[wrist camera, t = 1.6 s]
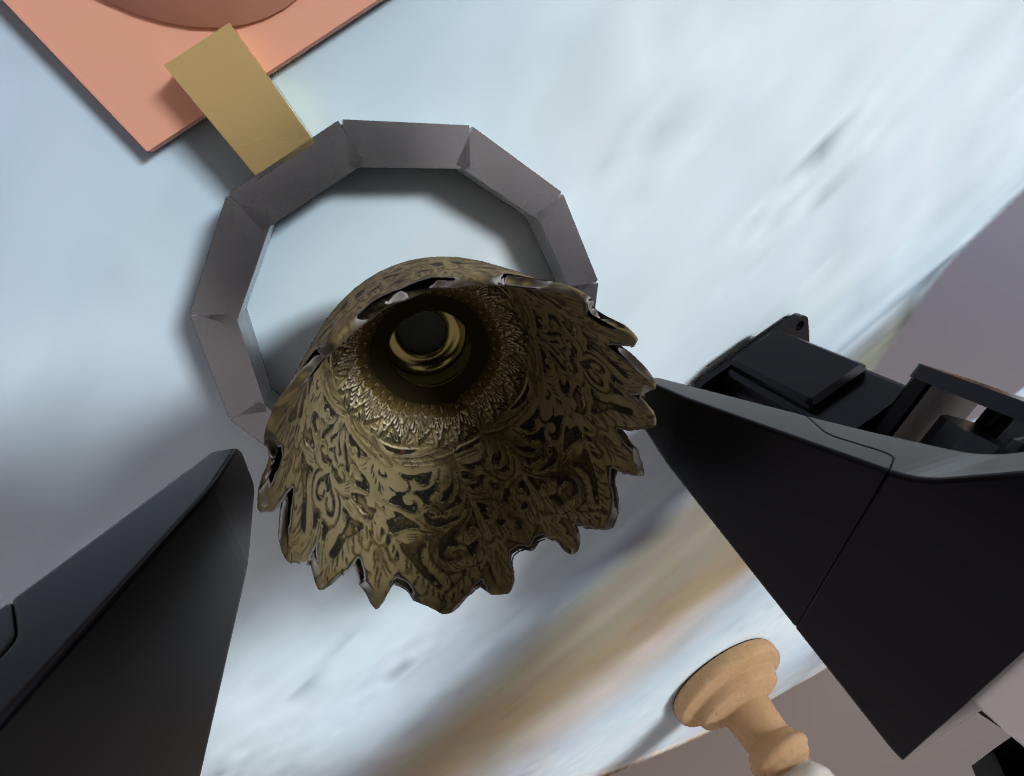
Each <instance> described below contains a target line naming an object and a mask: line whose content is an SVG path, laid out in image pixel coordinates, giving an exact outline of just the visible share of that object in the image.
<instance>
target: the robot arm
mask: <svg viewBox="0 0 1024 776" xmlns="http://www.w3.org/2000/svg"><path fill="white" fill-rule="evenodd" d="M910 377H912V378H911V379H910V381H909V382H908V383H907V385H904V384H901V383H899V382H896V381H894V380H892V379H889V378H887V377H884V376H882V375H879V374H877V373H874V372H872V371H869V370H867V369H866V367H865V365H864V364H862V363H860V362H857V361H855V360H852V359H850V358H847V357H845V356H842V355H840V354H837V353H835V352H832V351H830V350H827V349H825V348H822V347H819V346H817V345H814V344H812V343H809V326H808V318H807V317H806V316H804V315H801V314H798V313H795V314H793V315H791V316H790V317H788V318H787V319H785V320H784V321H782V322H781V323H779V324H778V325H777V326H775V327H774V328H772V329H771V330H769V331H768V332H766V333H765V334H764V335H762V336H761V337H759V338H758V339H756V340H755V341H754V342H752V343H751V344H749V345H748V346H746V347H745V348H743V349H742V350H741V351H739V352H738V353H736V354H735V355H733V356H732V357H730V358H729V359H728V360H726V361H725V362H723V363H722V364H720V365H719V366H718V367H716V368H715V369H713V370H712V371H710V372H709V373H707V374H706V375H705V376H703V377H702V378H700V379H699V380H698V381H697V382H696V383H695V385H694V387H691V386H687V385H683V384H679V383H676V382H672V381H668V380H664V379H660V378H653V379H654V381H655V383H656V388H655V389H653V390H650V391H648V392H646V393H644V395H645V399H644V401H645V402H646V403H647V404H648V405H649V407H650V408H651V409H652V410H653V412H654V414H655V416H656V425H655V426H654V427H652V428H648V429H645V430H646V432H647V433H648V435H649V437H650V438H651V440H652V441H653V443H654V444H655V446H656V448H657V449H658V451H659V452H660V454H661V455H662V457H663V458H664V460H665V461H666V463H667V464H668V465H669V467H670V468H671V469H672V471H673V472H674V473H675V475H676V476H677V477H678V478H679V480H680V481H681V482H682V483H683V485H684V486H685V487H686V488H687V490H688V491H689V492H690V494H691V495H692V496H693V497H694V499H695V500H696V501H697V502H698V504H699V505H700V506H701V507H702V509H703V510H704V511H705V513H706V514H707V515H708V516H709V518H710V519H711V520H712V521H713V523H714V524H715V525H716V527H717V528H718V529H719V530H720V532H721V533H722V534H723V535H724V537H725V538H726V539H727V540H728V542H729V543H730V544H731V546H732V547H733V548H734V549H735V551H736V552H737V553H738V554H739V556H740V557H741V558H742V559H743V561H744V562H745V563H746V565H747V566H748V567H749V568H750V570H751V571H752V572H753V573H754V575H755V576H756V577H757V578H758V580H759V581H760V582H761V584H762V585H763V586H764V587H765V589H766V590H767V591H768V592H769V594H770V595H771V596H772V598H773V599H774V600H775V601H776V603H777V604H778V605H779V606H780V608H781V609H782V610H783V611H784V613H785V614H786V615H787V617H788V618H789V619H790V620H791V622H792V623H793V624H794V625H795V626H796V628H797V630H798V631H799V632H800V634H801V635H802V636H803V637H804V639H805V640H806V641H807V642H808V644H809V645H810V646H811V647H812V649H813V650H814V651H815V653H816V654H817V655H818V656H819V658H820V659H821V660H822V661H823V663H824V664H825V665H826V667H827V668H828V669H829V670H830V672H831V673H832V674H833V675H834V676H835V678H836V679H837V680H838V682H839V683H840V684H841V685H842V687H843V688H844V689H845V691H846V692H847V693H848V694H849V696H850V697H851V698H852V700H853V701H854V702H855V703H856V705H857V706H858V707H859V708H860V710H861V711H862V712H863V714H864V715H865V716H866V717H867V718H868V720H869V721H870V722H871V724H872V725H873V726H874V727H875V729H876V730H877V731H878V733H879V734H880V735H881V736H882V737H883V739H884V740H885V741H886V743H887V744H888V745H889V746H890V747H891V749H892V750H893V751H894V752H895V753H896V754H897V755H898V756H899V757H900V758H901V759H902V760H905V759H906V758H908V757H910V756H911V755H913V754H914V753H916V752H917V751H919V750H920V749H922V748H924V747H925V746H927V745H928V744H930V743H931V742H933V741H934V740H936V739H938V738H939V737H941V736H942V735H944V734H945V733H947V732H948V731H950V730H952V729H953V728H954V727H956V726H958V725H959V724H961V723H962V722H964V721H966V720H967V719H969V718H970V717H972V716H973V715H975V714H976V713H980V714H981V715H983V716H984V717H986V718H987V719H989V720H990V721H992V722H993V723H995V724H996V725H998V726H999V727H1001V728H1002V729H1003V730H1005V731H1006V732H1007V733H1008V734H1009V735H1010V736H1011V738H1009V739H1008V740H1006V741H1005V742H1003V743H1002V744H1001V745H999V746H998V747H996V748H995V749H993V750H992V751H991V752H989V753H988V754H987V755H985V756H984V757H983V758H982V759H980V760H979V761H978V762H976V763H975V764H974V765H972V768H973V770H974V773H975V776H1024V398H1023V397H1020V396H1017V395H1014V394H1011V393H1008V392H1006V391H1003V390H1000V389H997V388H994V387H991V386H988V385H985V384H983V383H980V382H977V381H974V380H971V379H968V378H965V377H962V376H958V375H955V374H952V373H949V372H945V371H942V370H939V369H936V368H933V367H929V366H926V365H923V364H920V363H919V364H918V365H917V366H916V367H915V369H914V370H913V371H912V373H911V374H910ZM977 404H979V405H982V406H984V407H987V409H986V410H985V411H984V412H983V413H982V414H981V415H980V417H979V418H978V419H977V420H976V421H975V422H971V421H968V420H965V419H966V418H967V416H968V415H969V414H970V413H971V412H972V410H973V409H974V408H975V407H976V406H977ZM253 500H254V485H253V481H252V478H251V476H250V473H249V471H248V468H247V465H246V463H245V460H244V458H243V455H242V453H241V452H240V451H239V450H238V449H229V450H223V451H217V452H213V453H211V454H210V455H208V456H207V457H206V458H204V459H203V460H202V461H200V462H199V463H198V464H196V465H195V466H194V467H192V468H191V469H189V470H188V471H187V472H185V473H184V474H183V475H181V476H180V477H179V478H177V479H176V480H175V481H173V482H172V483H170V484H169V485H168V486H166V487H165V488H164V489H162V490H161V491H160V492H158V493H157V494H156V495H154V496H153V497H152V498H150V499H149V500H147V501H146V502H145V503H143V504H142V505H141V506H139V507H138V508H137V509H135V510H134V511H133V512H131V513H130V514H128V515H127V516H126V517H124V518H123V519H122V520H120V521H119V522H118V523H116V524H115V525H114V526H112V527H111V528H110V529H108V530H107V531H105V532H104V533H103V534H101V535H100V536H99V537H97V538H96V539H95V540H93V541H92V542H91V543H89V544H88V545H86V546H85V547H84V548H82V549H81V550H80V551H78V552H77V553H76V554H74V555H73V556H72V557H70V558H69V559H68V560H66V561H65V562H63V563H62V564H61V565H59V566H58V567H57V568H55V569H54V570H53V571H51V572H50V573H49V574H47V575H46V576H44V577H43V578H42V579H40V580H39V581H38V582H36V583H35V584H34V585H32V586H31V587H30V588H28V589H27V590H26V591H24V592H23V593H21V594H20V595H19V596H17V597H16V598H15V599H14V600H13V604H7V605H5V606H4V607H2V608H1V609H0V776H200V774H201V769H202V765H203V761H204V756H205V752H206V747H207V743H208V738H209V734H210V730H211V725H212V721H213V716H214V712H215V707H216V703H217V699H218V694H219V690H220V685H221V681H222V676H223V672H224V668H225V663H226V659H227V654H228V650H229V645H230V641H231V637H232V632H233V628H234V623H235V619H236V614H237V610H238V606H239V601H240V597H241V592H242V588H243V583H244V579H245V574H246V569H247V564H248V555H249V545H250V534H251V522H252V511H253Z"/></svg>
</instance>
